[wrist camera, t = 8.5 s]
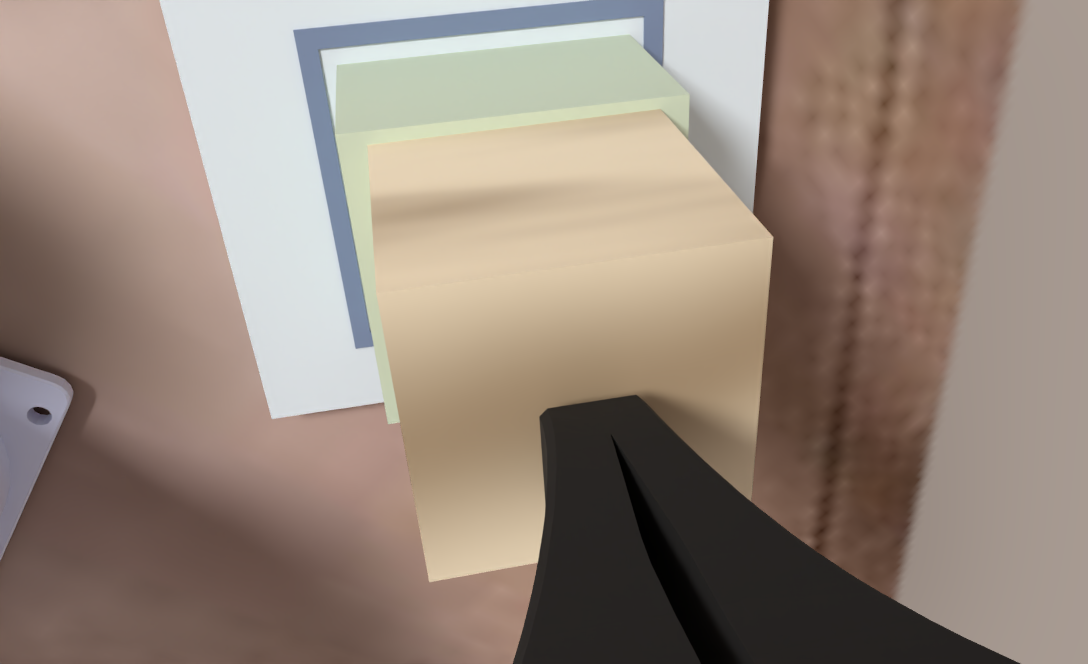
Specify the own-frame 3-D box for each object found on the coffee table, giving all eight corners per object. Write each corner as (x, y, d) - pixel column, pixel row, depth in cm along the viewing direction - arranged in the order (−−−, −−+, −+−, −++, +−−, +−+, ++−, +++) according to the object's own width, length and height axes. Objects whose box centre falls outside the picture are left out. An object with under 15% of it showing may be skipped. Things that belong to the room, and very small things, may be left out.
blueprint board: (732, 332, 25) (744, 350, 24) (273, 399, 23) (271, 421, 22) (795, -603, 15) (818, -622, 14) (12, -590, 13) (-7, -610, 13)
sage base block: (629, 285, 22) (679, 379, 19) (381, 320, 22) (387, 424, 18) (629, 34, 19) (689, 94, 16) (336, 64, 18) (335, 134, 15)
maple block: (658, 350, 19) (749, 524, 14) (409, 389, 18) (429, 582, 14) (660, 109, 16) (772, 237, 12) (367, 145, 15) (376, 293, 11)
